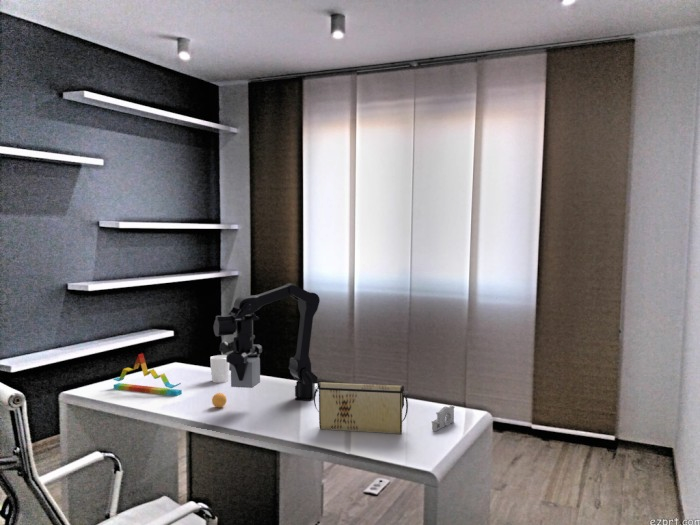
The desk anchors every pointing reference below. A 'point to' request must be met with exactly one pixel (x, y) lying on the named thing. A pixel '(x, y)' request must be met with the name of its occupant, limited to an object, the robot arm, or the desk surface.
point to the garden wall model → (443, 418)
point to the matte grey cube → (247, 374)
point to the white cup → (219, 368)
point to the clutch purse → (361, 407)
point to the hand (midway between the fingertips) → (245, 377)
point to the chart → (146, 388)
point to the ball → (219, 400)
